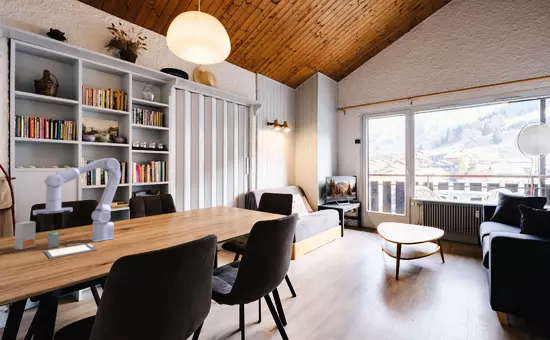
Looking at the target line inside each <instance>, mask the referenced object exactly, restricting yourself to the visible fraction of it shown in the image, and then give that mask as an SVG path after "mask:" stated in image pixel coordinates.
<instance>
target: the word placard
mask: <svg viewBox="0 0 550 340" xmlns="http://www.w3.org/2000/svg"><path fill="white" fill-rule="evenodd" d="M82 244H83V243H82V242H81V241H79V242H73V243H69V244H65V247H70V246H76V245H82Z"/></svg>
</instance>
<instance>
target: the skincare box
mask: <svg viewBox="0 0 550 340" xmlns="http://www.w3.org/2000/svg"><path fill="white" fill-rule="evenodd" d="M36 224H37V223H36V221H31V220H30V221H28V220H27V221H23V222H21V221H20V222H17V223H15V224H14V227H15V228H14V249H15V250H25V249H28V248H32V247H36V246H35V245H36V244H35V243H36Z"/></svg>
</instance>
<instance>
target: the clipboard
mask: <svg viewBox="0 0 550 340" xmlns="http://www.w3.org/2000/svg"><path fill="white" fill-rule="evenodd" d="M97 250H98V249H97V248H95V245H93V244H91V243H84V244H83V243H82V245H76V246H70V247H67V246H65V247H58V248H53V249H47V250H43V252H44V254H46V256H47V257H48V259H50V260H52V259H58V258H62V257H63V258H64V257H68V256H74V255H79V254H84V253H90V252H95V251H97Z"/></svg>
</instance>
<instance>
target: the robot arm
mask: <svg viewBox="0 0 550 340" xmlns="http://www.w3.org/2000/svg"><path fill="white" fill-rule="evenodd" d="M120 166H121V164H120V162H119V161H118V160H117V159H116V158H114V157H109V158H107V157H105V158H102V159H97V160H94V161H91V162H88V163H87V164H84V165H82V166H79V167H77V168H76V167H70V166H69V167H66V168H65V169H64V170H62V171H61V170H60V172H58V171H56V172H55V174H50V175H49V174H48V175H47V176H46V178H45V180H44V184H45V185H46V190H45V208H42V209H34V210H32V215H33V216H36V218H37V220H38V221H39V224H40V227H41V230H42V231H44V230H45V214H47V215H48V214H58V213H61V215H62V216H61V221H62V222H61V223H62V224H61V227H62V228H66V224H67V221H68V219H69V216H70V215H71V213H72V212H73V210H74V209H73V208H74V207H71V206H70V207H69V206H68V207H62V185H63V184H66V183H69V182H71V181H73V180H76V179H78V178H79V177H80V175H81V174H85V173H87V172H89V171H92V170H95V169H102V170H104V171H105V173H107V175H108V176H109V177H108V180H107V182H106V185H105V188H104V190H103V193H102V196H101V198H100V201H99V204H97V206H96V207H95V210H93V211H92V213H91V219H92V220H93V221H92V237H90V238H89V240H90V241H92V242H94V243H96V242H101V241H108V240H114V239H115V226H114V222H113V221H111V211H112V208H111V205H112V202H113V200H114V197H115V194H116V191H117V189H118V186H119V182H120V180H121V178H122V171H121V168H120Z"/></svg>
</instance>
